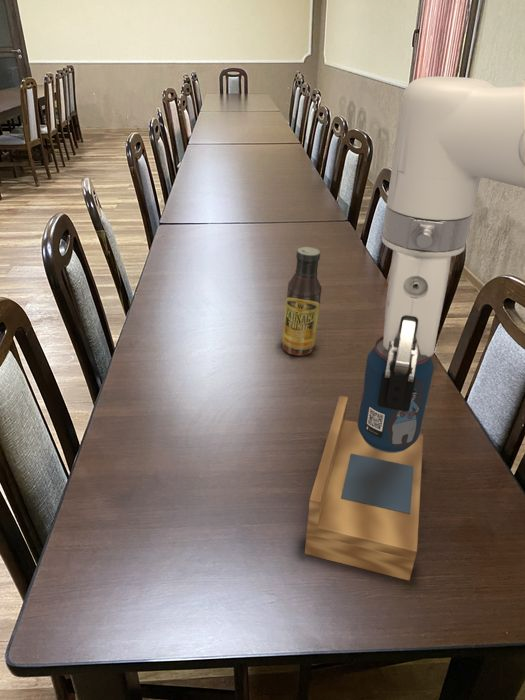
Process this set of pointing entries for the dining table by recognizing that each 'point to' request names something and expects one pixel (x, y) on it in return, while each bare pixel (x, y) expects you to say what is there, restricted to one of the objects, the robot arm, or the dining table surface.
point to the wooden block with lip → (365, 502)
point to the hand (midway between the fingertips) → (396, 385)
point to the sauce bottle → (302, 304)
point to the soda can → (389, 424)
